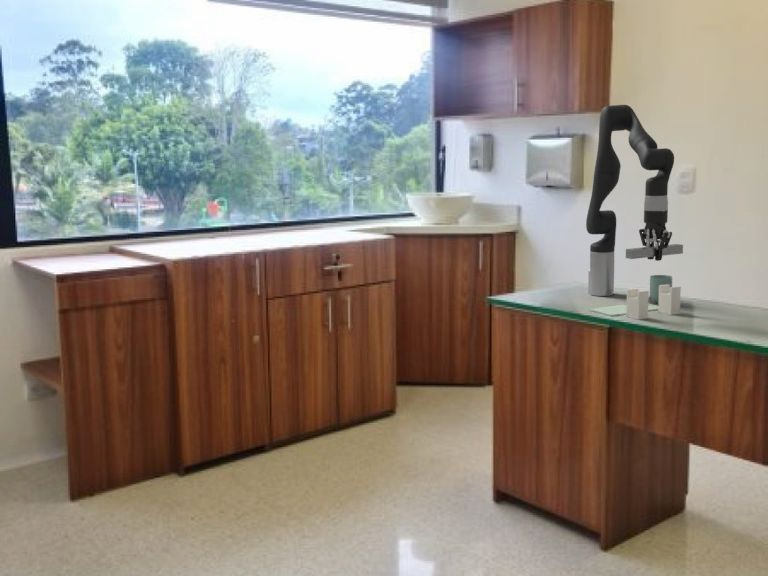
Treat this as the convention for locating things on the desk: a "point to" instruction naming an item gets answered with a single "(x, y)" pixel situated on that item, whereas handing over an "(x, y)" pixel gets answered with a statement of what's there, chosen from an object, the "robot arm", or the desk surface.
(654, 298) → the cup
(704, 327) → the desk surface
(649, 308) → the mat
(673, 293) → the rack
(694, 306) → the desk surface
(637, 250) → the bar
